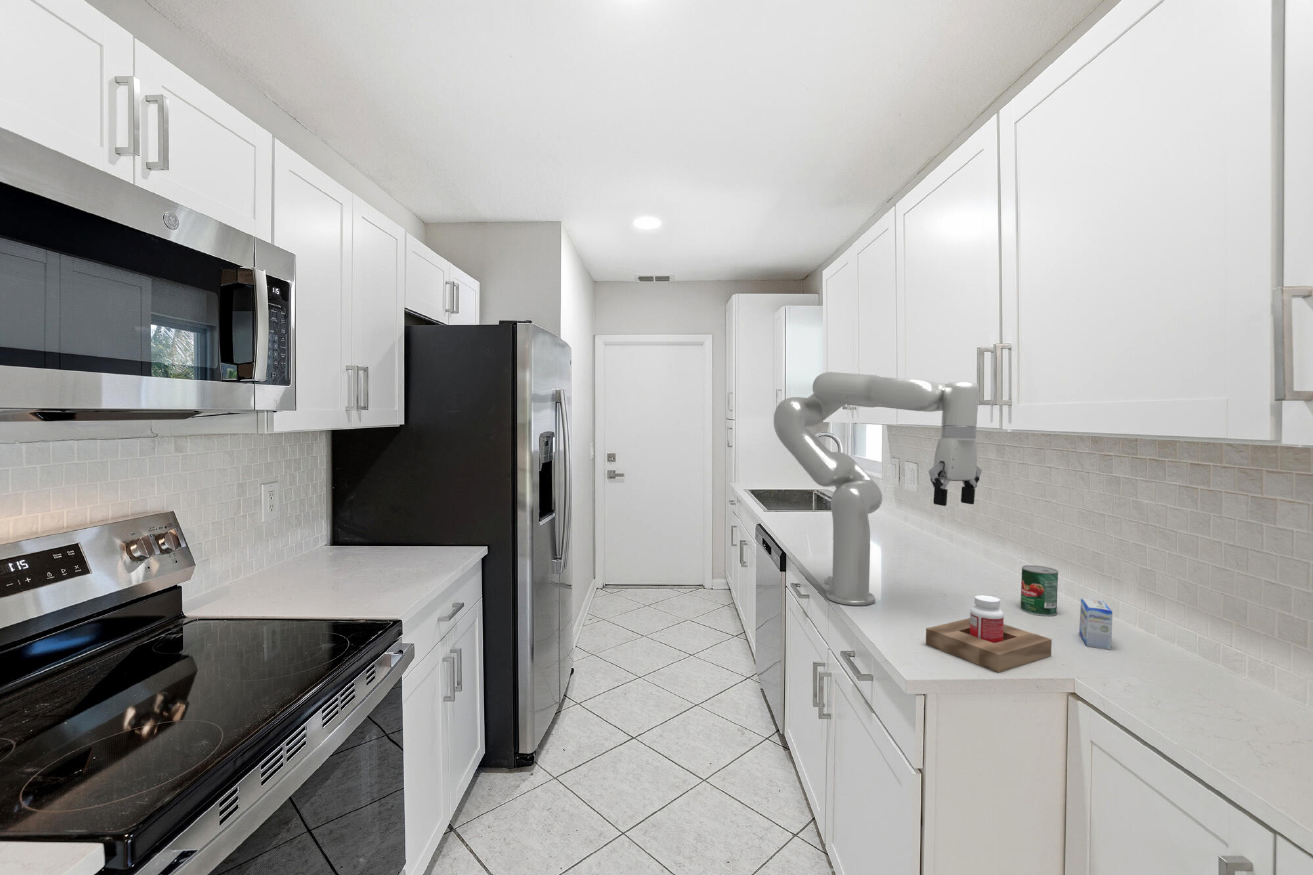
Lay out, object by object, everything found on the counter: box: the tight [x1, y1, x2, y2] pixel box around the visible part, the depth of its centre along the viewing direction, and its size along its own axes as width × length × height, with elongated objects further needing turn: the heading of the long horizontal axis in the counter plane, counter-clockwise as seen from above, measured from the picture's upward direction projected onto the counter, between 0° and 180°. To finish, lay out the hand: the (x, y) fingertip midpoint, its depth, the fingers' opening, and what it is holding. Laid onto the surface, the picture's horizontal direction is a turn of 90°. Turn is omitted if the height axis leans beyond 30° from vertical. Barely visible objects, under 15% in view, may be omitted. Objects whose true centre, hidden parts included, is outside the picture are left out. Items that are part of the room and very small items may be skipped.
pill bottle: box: [969, 594, 1005, 643], centre depth 125 cm, size 6×6×11 cm
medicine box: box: [1078, 597, 1113, 650], centre depth 130 cm, size 8×4×9 cm, turn 154°
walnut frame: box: [925, 617, 1053, 674], centre depth 125 cm, size 16×18×4 cm
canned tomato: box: [1019, 564, 1059, 617], centre depth 151 cm, size 8×8×11 cm
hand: (953, 504), depth 143 cm, fingers open, 9 cm apart
